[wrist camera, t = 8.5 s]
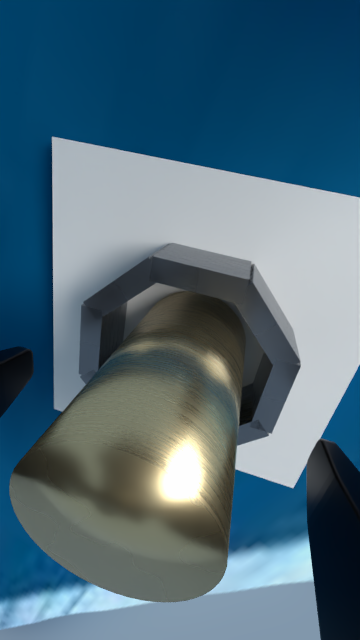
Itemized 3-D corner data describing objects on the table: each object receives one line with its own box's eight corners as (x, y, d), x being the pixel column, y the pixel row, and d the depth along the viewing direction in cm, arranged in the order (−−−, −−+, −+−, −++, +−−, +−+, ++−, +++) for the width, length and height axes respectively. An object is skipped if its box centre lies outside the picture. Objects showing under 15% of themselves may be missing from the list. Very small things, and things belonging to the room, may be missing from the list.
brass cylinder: (259, 306, 12) (259, 499, 5) (230, 395, 14) (198, 627, 6) (150, 279, 12) (0, 411, 5) (138, 367, 14) (16, 553, 7)
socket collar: (315, 276, 11) (329, 299, 9) (254, 431, 14) (253, 475, 12) (115, 229, 12) (83, 239, 10) (102, 384, 15) (77, 417, 13)
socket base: (421, 210, 10) (440, 213, 9) (290, 467, 16) (293, 488, 15) (70, 140, 12) (52, 136, 11) (66, 395, 18) (54, 408, 17)
